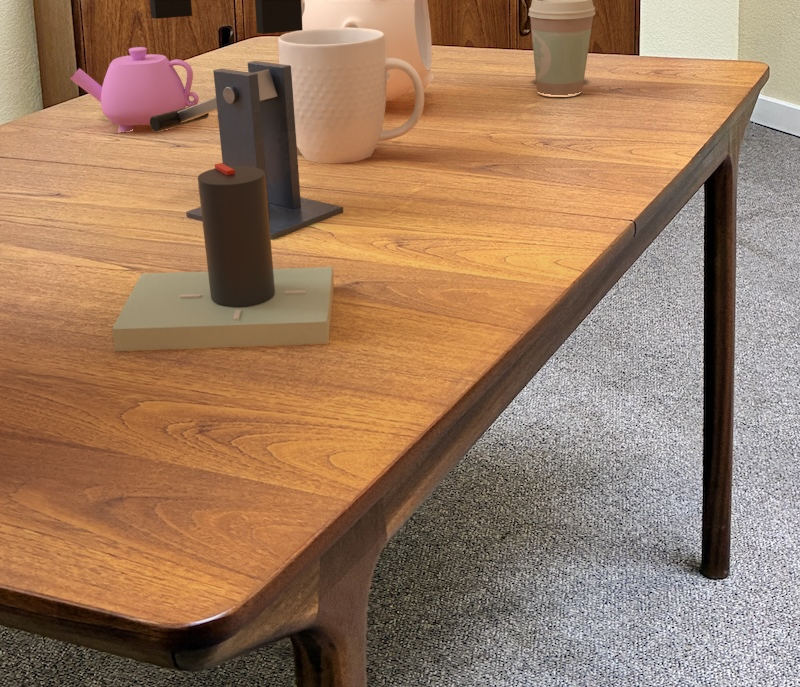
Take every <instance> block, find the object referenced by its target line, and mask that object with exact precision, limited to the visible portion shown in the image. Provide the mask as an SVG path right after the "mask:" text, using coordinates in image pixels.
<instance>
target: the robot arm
mask: <svg viewBox="0 0 800 687" xmlns="http://www.w3.org/2000/svg"><path fill="white" fill-rule="evenodd" d="M254 7H255V25H256V34H263V35H266V34H267V35H268V34H276V33H290V32H294V31H301V30H303V29H302V6H301V0H254ZM149 10H150V18H151V19H169V18H183V17H193V7H192V0H149Z"/></svg>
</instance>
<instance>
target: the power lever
mask: <svg viewBox="0 0 800 687" xmlns="http://www.w3.org/2000/svg"><path fill="white" fill-rule="evenodd" d="M255 73H257V74H258V84H259V96H260V103H261V102H264V101H267V100H269V99H272V98H275V97H277V96H278V95H277V92H276V89H275V86H274V83H273V80H272V77H271V74H270V71H269V69H267V70H263V71H259V72H255ZM214 111H215V112H216V111H217V102H216V96H215V97H212V98H210V99H207V100H205V101H202V102H198V104H197V105H194V106H191V107H188V106H186V107H185V108H183V109H179V110H175V111H171V112H167V113H164V114H160V115H156V116H152V117H151V118H150V125H149V126H150V128H151V130H152V131H153V132H156V133H158V132H163V131H162V130H166V129H170V128H171V129H173V128H177V127H180V126H184V125H189V124H192V123H195V122H199V121H203V120H207V119H208V118H209V116H210V113H213V112H214ZM171 129H170V130H171Z"/></svg>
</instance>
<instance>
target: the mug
mask: <svg viewBox="0 0 800 687" xmlns="http://www.w3.org/2000/svg"><path fill="white" fill-rule="evenodd" d="M277 48H278V64H283V65H290V66H291V73H292V87H293V101H294V115H295V129H296V143H297V150H298V151H299V152H300V154H301V155H302V157H303V158H304V159H305V160H307V161H309V162H313V163H318V164H332V165H333V164H348V163H354V162H359V161H363V160H365V159H368V158H371V157H372V156H373V153H374V152H375V149H376V148H377V145H378V142H384V141H389V140H393V139H396V138H399V137H402V136H404V135H406V134H407V133H409V132H410V131H411V130H413V129H414V127H416V125H418V122H419V120H420V118H421V117H422V114H423V111H424V105H425V89H423V85H422V81H421V79H420V77H419V75H418V73H417V71H416V70H415V69H414V68H413V67H412V66H411V65H410V64H409V63H407V62H405V61H403V60H400V59H397V58H386V53H385V35H384V33H383V32H381V31H378V30H374V29H366V28H348V27H340V28H319V29H308V30H301V31H290V32H285V33H284V34H282V35H280V36H279V37H278V39H277ZM391 69H400V70H402V71H404V72H405V73H406V74H407V75H408V76H409V77H410V79H411V80H412V82H413V85H414V88H413V89H414V92H415V102H414V103H415V104H414V108H413V111H412V113H411V115H410V117H409V118H408V119H407V121H405V122H404V123H403V124H402V125H401V126H399V127H396V128H393V129H387V130H386V129H384V130H383V124H384V119H385V113H386V105H387V102H386V90H387V89H386V85H387V80H386V79H387V75H386V71H387V70H391Z"/></svg>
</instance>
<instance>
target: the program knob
mask: <svg viewBox="0 0 800 687" xmlns="http://www.w3.org/2000/svg"><path fill="white" fill-rule="evenodd" d="M197 185H198V193H199V194H198V195H199V203H200V207H201V213H202V221H201V222H202V229H203V231H202V232H203V239H204V248H205V256H206V257H205V258H206V266H207V271H208V276H209V285H210V294H211V299H212V301H213V302H215V303H217V304H219V305H223V306H230V307H244V306H252V305H256V304H260V303H263V302H265V301H267V300H269V299H271V298H272V297H273V296H274V294H275V285H274V273H273V269H274V263H273V251H272V242H271V241H272V240H271V238H270V226H269V214H268V203H267V191H266V179H265V172H264V171H263V170H261V169H259V168H255V167H249V166H229V167H228V166H227V165H225V164H223V162H218V163H214V168H213V169H208V170H206V171H203V172H201V173H199V175H198V176H197Z"/></svg>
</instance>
